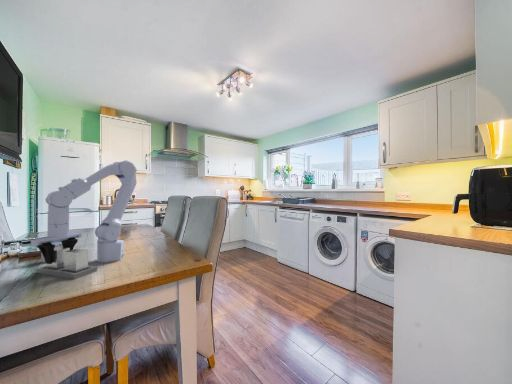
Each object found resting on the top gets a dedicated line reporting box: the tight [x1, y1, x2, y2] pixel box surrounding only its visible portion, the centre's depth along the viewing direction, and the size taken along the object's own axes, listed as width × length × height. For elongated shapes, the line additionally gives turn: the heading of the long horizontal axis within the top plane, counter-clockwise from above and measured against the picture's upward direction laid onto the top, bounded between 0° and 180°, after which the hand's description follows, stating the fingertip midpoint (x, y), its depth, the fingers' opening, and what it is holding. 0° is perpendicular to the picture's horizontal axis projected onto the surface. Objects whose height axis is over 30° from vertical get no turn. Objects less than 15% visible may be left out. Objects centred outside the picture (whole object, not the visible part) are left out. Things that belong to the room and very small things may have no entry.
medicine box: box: [40, 239, 63, 263], centre depth 92 cm, size 8×4×9 cm, turn 168°
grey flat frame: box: [35, 265, 98, 280], centre depth 75 cm, size 18×7×2 cm, turn 75°
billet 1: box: [45, 247, 70, 270], centre depth 76 cm, size 6×4×8 cm
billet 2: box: [64, 248, 89, 273], centre depth 74 cm, size 6×4×8 cm
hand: (58, 261), depth 76 cm, fingers open, 5 cm apart
